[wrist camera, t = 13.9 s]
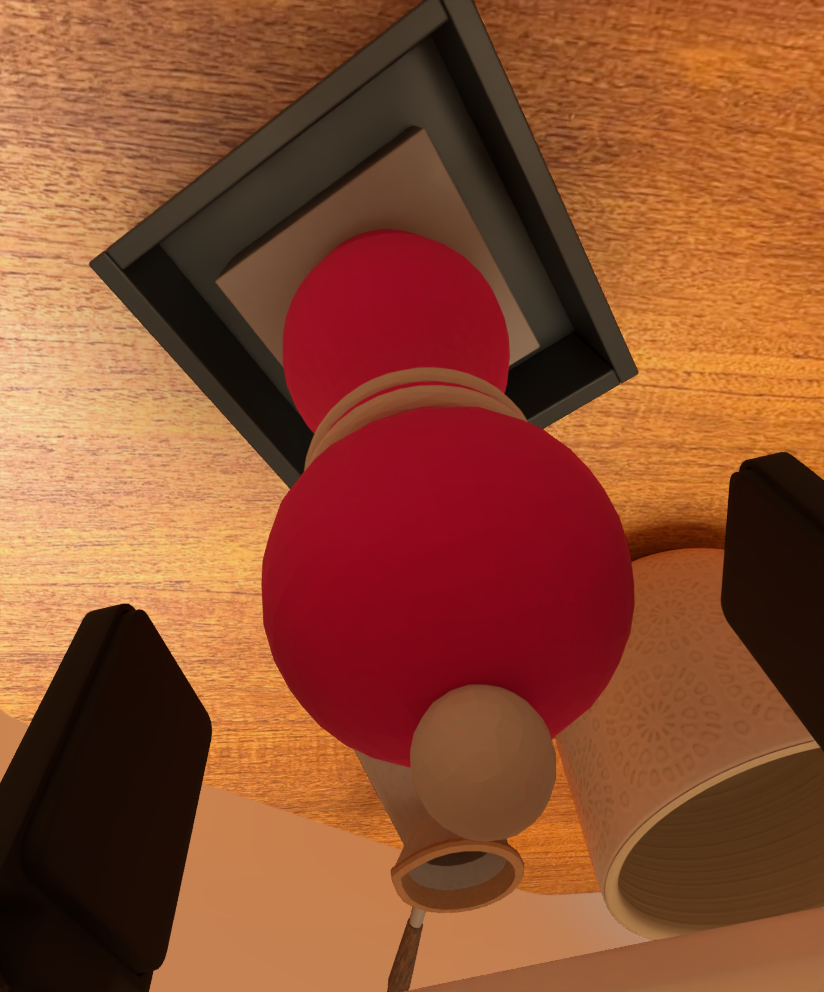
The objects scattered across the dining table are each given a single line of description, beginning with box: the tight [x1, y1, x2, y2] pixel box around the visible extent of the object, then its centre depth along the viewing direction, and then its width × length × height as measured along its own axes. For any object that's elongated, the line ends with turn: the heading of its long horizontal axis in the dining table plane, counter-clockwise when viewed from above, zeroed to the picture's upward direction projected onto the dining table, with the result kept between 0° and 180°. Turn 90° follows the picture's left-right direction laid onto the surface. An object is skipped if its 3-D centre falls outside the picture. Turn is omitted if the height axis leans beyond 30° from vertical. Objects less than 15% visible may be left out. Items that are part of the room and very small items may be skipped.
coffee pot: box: [354, 749, 524, 992], centre depth 37 cm, size 21×12×15 cm, turn 163°
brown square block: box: [215, 125, 540, 368], centre depth 25 cm, size 9×9×4 cm
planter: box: [555, 548, 824, 940], centre depth 34 cm, size 17×17×15 cm
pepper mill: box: [262, 229, 635, 842], centre depth 15 cm, size 7×7×20 cm
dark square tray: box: [89, 0, 638, 489], centre depth 25 cm, size 15×15×6 cm
